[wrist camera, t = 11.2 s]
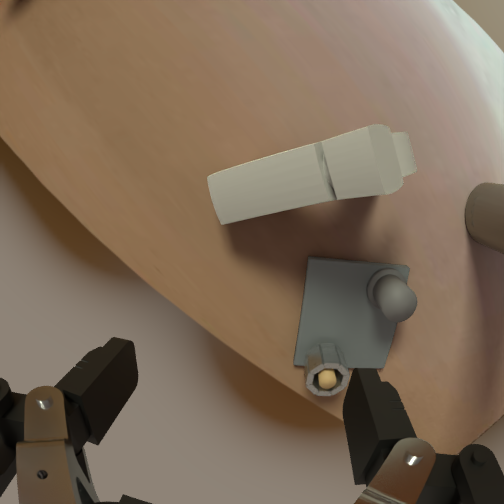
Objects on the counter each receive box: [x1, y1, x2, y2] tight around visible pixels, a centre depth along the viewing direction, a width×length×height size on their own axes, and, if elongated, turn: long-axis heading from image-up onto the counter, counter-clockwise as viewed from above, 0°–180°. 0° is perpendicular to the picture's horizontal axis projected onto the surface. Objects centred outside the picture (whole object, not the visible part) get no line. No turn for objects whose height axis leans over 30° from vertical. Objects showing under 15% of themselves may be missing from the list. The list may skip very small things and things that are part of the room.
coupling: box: [304, 343, 350, 396], centre depth 38 cm, size 5×5×5 cm
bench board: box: [293, 256, 417, 389], centre depth 37 cm, size 14×16×8 cm
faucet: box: [207, 124, 417, 225], centre depth 32 cm, size 6×16×20 cm
